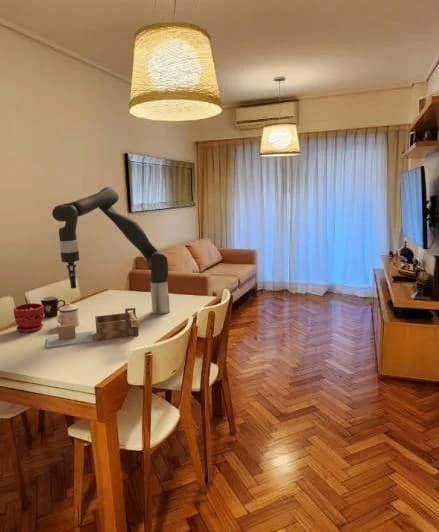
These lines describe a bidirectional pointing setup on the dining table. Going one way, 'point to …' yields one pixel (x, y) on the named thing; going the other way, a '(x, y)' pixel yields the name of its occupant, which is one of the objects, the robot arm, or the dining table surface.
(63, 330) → the lid
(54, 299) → the coffee mug
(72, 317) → the teacup with lid
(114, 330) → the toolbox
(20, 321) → the plant pot
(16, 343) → the dining table surface
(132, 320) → the key
